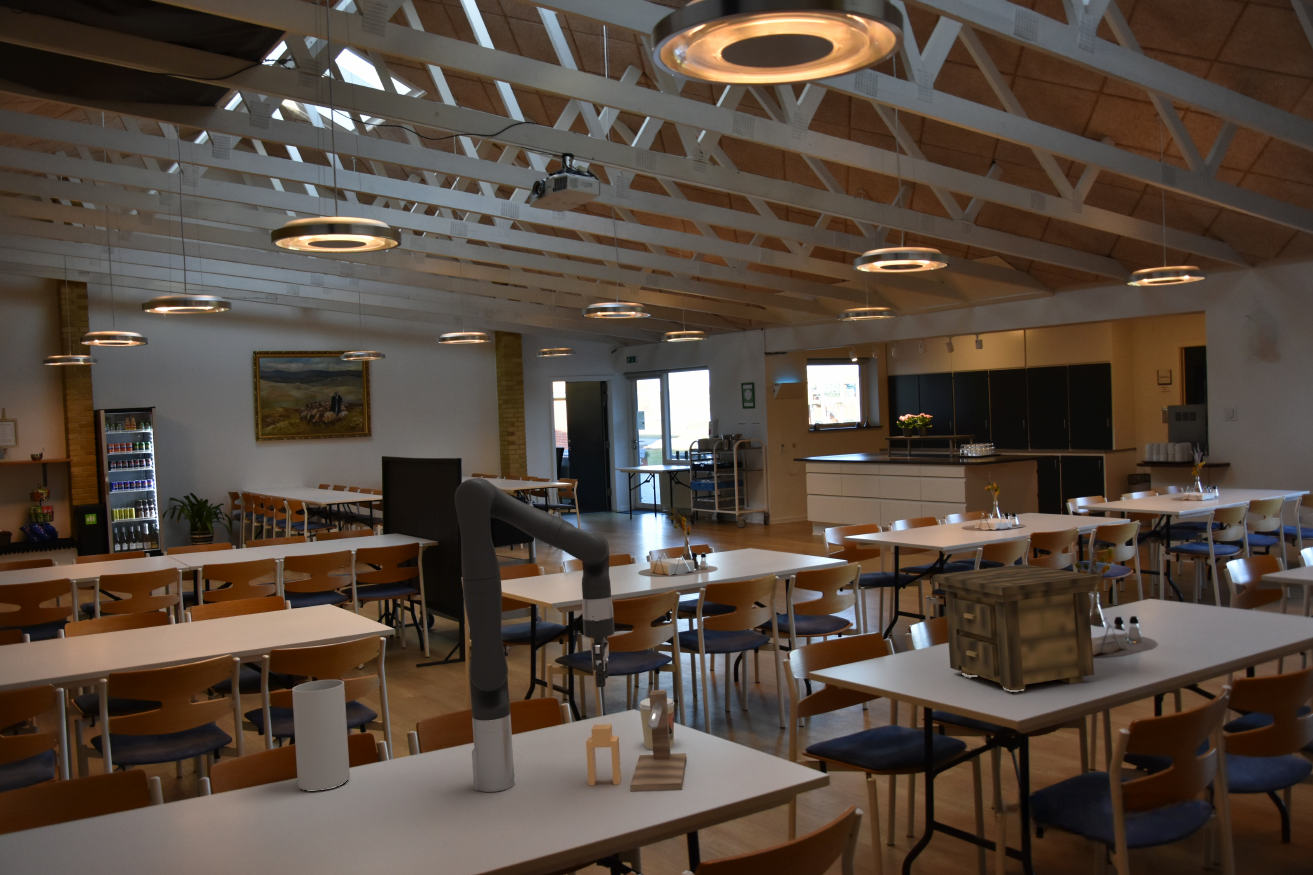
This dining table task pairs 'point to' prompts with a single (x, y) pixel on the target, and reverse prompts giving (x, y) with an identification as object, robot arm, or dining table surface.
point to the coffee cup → (645, 718)
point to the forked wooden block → (599, 740)
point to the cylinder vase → (320, 734)
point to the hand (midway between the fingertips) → (602, 682)
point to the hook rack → (659, 753)
